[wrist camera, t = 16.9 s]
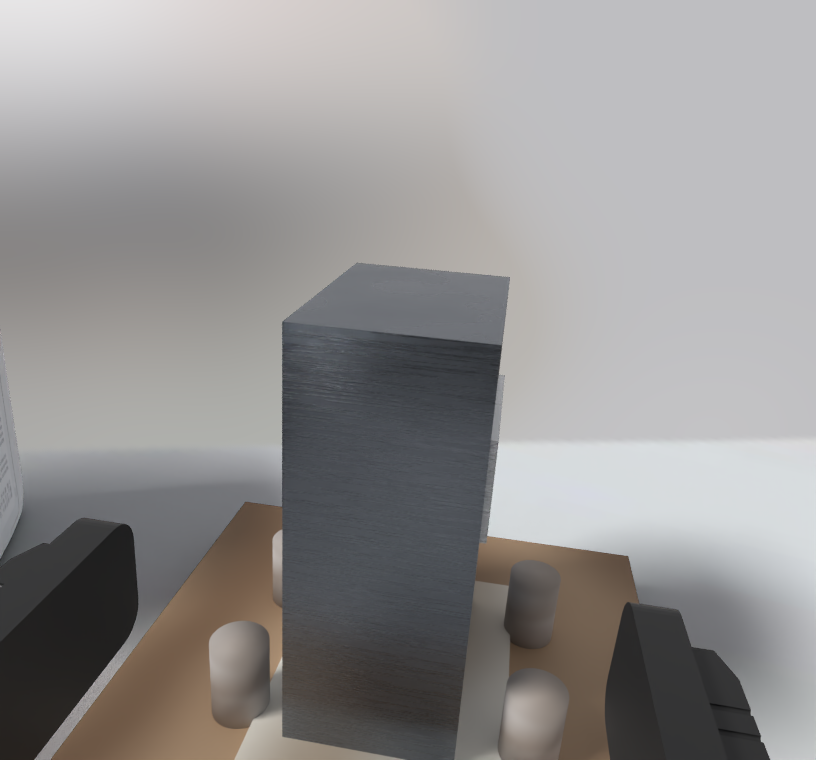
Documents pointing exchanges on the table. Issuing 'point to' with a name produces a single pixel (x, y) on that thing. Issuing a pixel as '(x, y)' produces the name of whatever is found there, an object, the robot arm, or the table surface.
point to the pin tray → (262, 659)
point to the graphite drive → (386, 503)
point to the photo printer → (8, 463)
